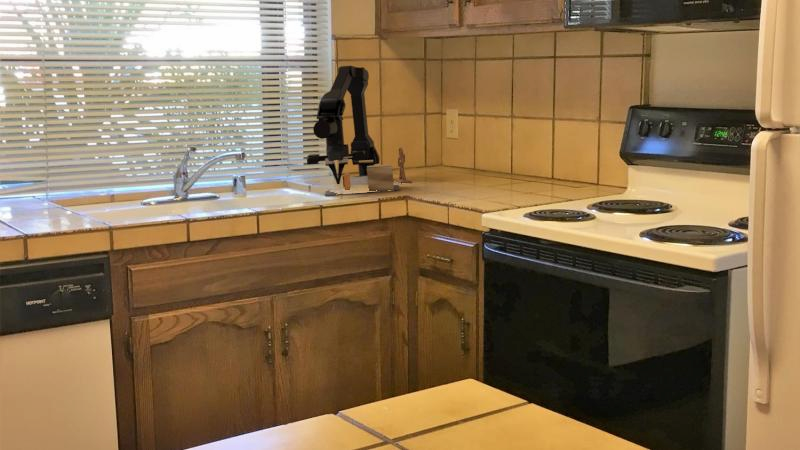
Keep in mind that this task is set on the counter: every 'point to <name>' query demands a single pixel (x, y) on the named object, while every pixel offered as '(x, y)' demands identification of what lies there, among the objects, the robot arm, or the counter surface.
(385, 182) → the hitch block
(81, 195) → the counter surface
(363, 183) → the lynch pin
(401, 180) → the brown figurine
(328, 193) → the mat
